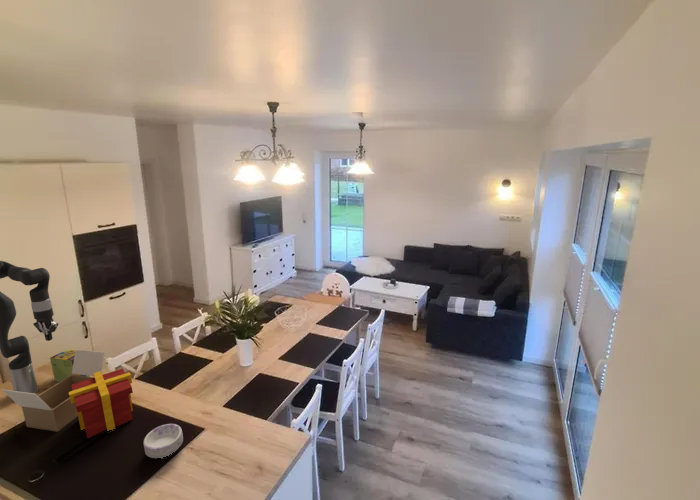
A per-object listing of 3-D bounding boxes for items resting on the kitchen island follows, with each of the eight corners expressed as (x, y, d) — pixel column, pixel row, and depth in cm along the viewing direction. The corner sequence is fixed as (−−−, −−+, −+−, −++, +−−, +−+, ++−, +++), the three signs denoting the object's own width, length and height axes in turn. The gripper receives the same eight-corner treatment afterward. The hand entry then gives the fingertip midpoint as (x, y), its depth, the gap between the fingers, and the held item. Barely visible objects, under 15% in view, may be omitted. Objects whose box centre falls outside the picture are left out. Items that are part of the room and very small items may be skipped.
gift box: (79, 445, 164) (71, 406, 160) (74, 417, 183) (66, 381, 178) (141, 420, 180) (135, 384, 176) (130, 396, 199) (125, 363, 194)
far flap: (75, 349, 200) (76, 349, 201) (71, 373, 198) (72, 373, 199) (103, 352, 197) (104, 352, 198) (100, 376, 195) (100, 376, 196)
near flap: (20, 404, 173) (19, 405, 172) (3, 389, 165) (2, 390, 165) (51, 409, 170) (51, 410, 169) (36, 393, 162) (35, 394, 162)
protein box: (76, 384, 210) (71, 360, 206) (54, 381, 213) (49, 357, 209) (92, 374, 220) (87, 351, 216) (71, 371, 223) (66, 348, 219)
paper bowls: (145, 469, 152) (142, 453, 150) (146, 445, 165) (143, 430, 163) (185, 456, 159) (183, 440, 157) (182, 433, 172) (180, 419, 170)
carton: (26, 426, 176) (21, 405, 173) (75, 394, 201) (71, 374, 198) (57, 431, 173) (52, 409, 170) (103, 397, 198) (99, 378, 195)
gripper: (23, 310, 178) (31, 342, 182) (46, 312, 176) (53, 344, 180) (38, 304, 185) (45, 335, 189) (60, 306, 183) (67, 337, 187)
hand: (49, 340), depth 184 cm, fingers closed
